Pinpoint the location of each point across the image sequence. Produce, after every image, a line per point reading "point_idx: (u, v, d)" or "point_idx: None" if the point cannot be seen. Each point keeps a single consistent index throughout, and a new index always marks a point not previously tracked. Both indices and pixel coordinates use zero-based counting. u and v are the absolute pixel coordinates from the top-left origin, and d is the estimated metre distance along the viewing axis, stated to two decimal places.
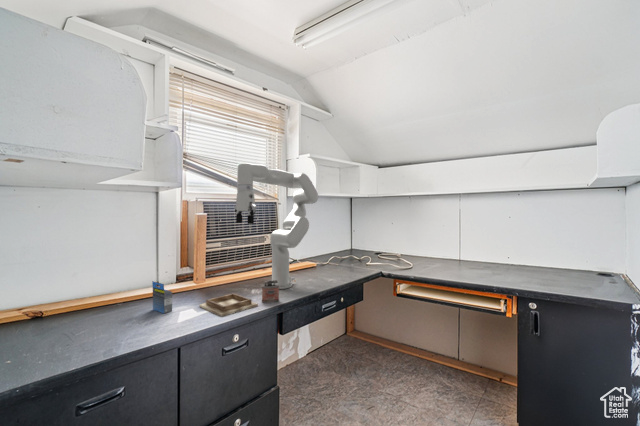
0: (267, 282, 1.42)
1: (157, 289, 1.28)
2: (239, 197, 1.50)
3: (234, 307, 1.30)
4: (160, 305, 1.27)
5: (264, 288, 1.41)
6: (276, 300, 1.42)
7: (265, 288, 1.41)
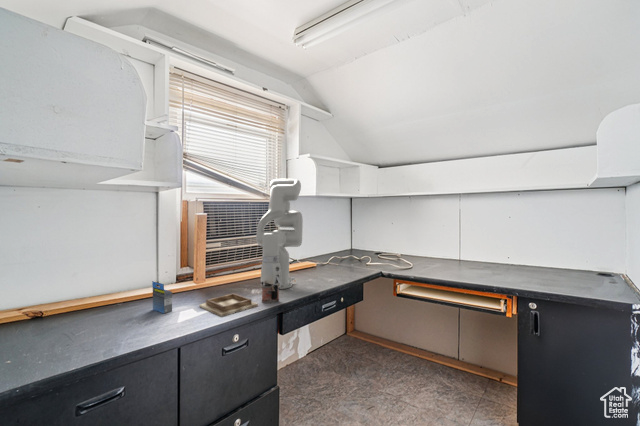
0: None
1: (157, 289, 1.28)
2: (264, 268, 1.42)
3: (234, 307, 1.30)
4: (160, 305, 1.27)
5: (264, 288, 1.41)
6: (276, 300, 1.42)
7: (265, 288, 1.41)
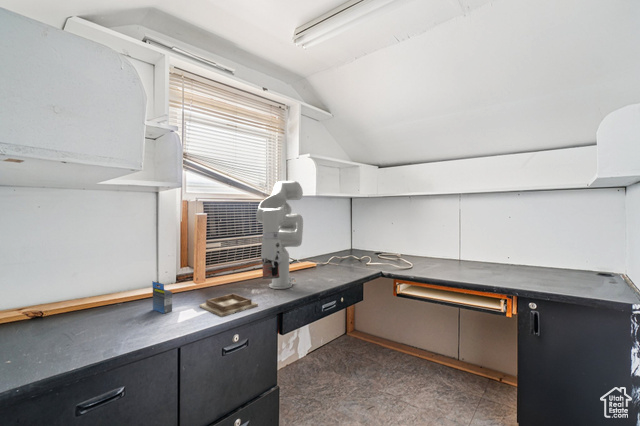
0: None
1: (157, 289, 1.28)
2: (264, 245, 1.42)
3: (234, 307, 1.30)
4: (160, 305, 1.27)
5: (265, 264, 1.41)
6: (276, 276, 1.43)
7: (266, 264, 1.41)
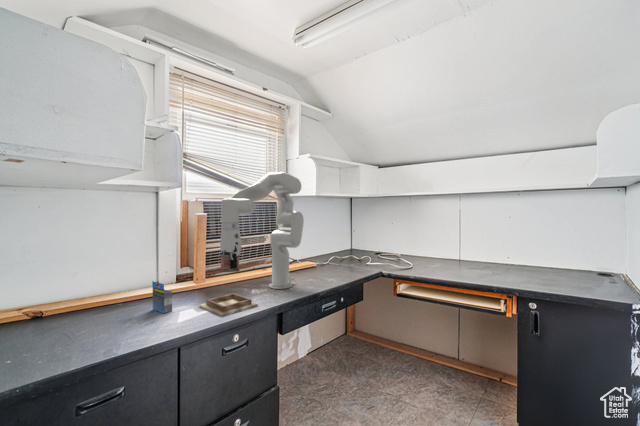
0: None
1: (157, 289, 1.28)
2: (223, 236, 1.34)
3: (234, 307, 1.30)
4: (160, 305, 1.27)
5: (223, 257, 1.33)
6: (236, 270, 1.35)
7: (224, 257, 1.33)
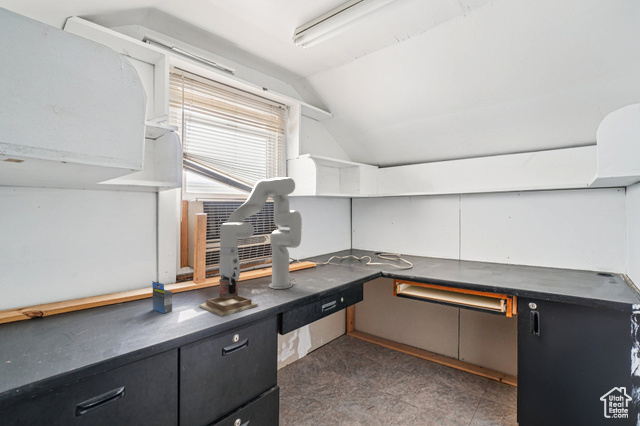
0: None
1: (157, 289, 1.28)
2: (222, 261, 1.34)
3: (234, 307, 1.30)
4: (160, 305, 1.27)
5: (221, 281, 1.33)
6: (235, 294, 1.35)
7: (223, 281, 1.33)
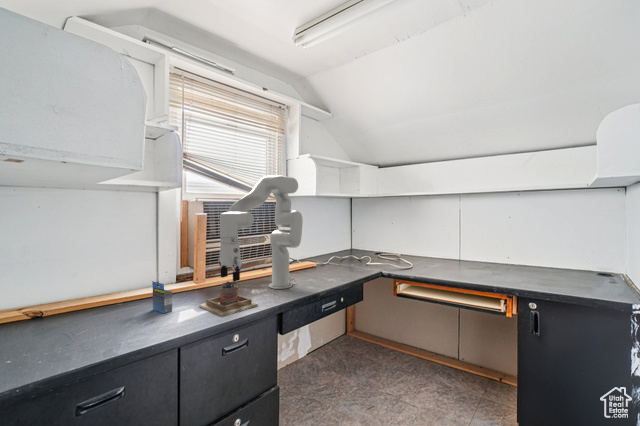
0: (225, 284, 1.34)
1: (157, 289, 1.28)
2: (222, 250, 1.34)
3: (234, 307, 1.30)
4: (160, 305, 1.27)
5: (222, 290, 1.33)
6: (235, 302, 1.36)
7: (223, 290, 1.33)
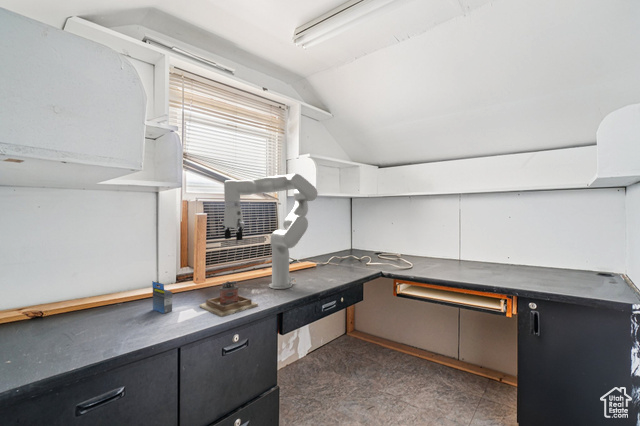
0: (225, 284, 1.34)
1: (157, 289, 1.28)
2: (226, 214, 1.51)
3: (234, 307, 1.30)
4: (160, 305, 1.27)
5: (222, 290, 1.33)
6: (235, 302, 1.36)
7: (223, 290, 1.33)
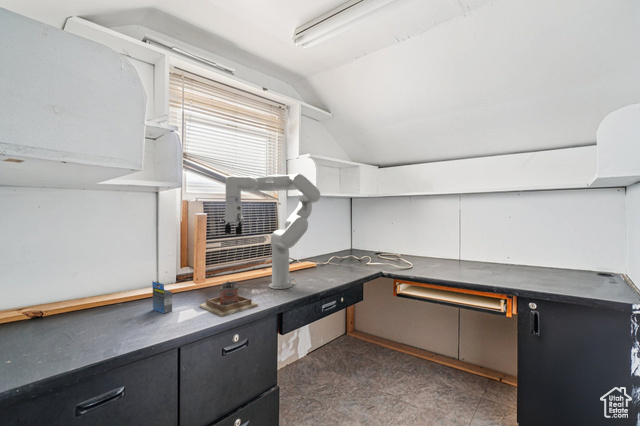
0: (225, 284, 1.34)
1: (157, 289, 1.28)
2: (227, 208, 1.55)
3: (234, 307, 1.30)
4: (160, 305, 1.27)
5: (222, 290, 1.33)
6: (235, 302, 1.36)
7: (223, 290, 1.33)
